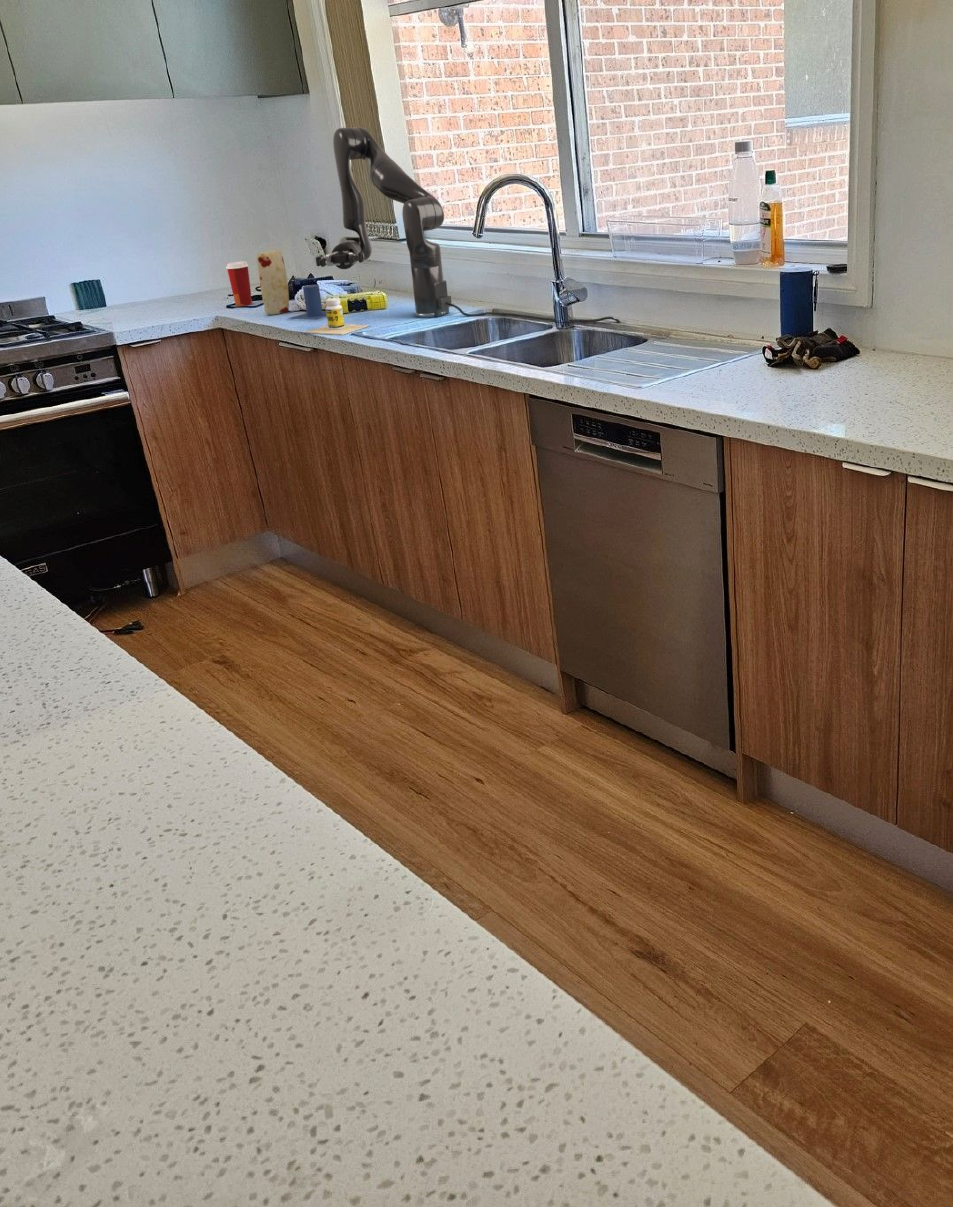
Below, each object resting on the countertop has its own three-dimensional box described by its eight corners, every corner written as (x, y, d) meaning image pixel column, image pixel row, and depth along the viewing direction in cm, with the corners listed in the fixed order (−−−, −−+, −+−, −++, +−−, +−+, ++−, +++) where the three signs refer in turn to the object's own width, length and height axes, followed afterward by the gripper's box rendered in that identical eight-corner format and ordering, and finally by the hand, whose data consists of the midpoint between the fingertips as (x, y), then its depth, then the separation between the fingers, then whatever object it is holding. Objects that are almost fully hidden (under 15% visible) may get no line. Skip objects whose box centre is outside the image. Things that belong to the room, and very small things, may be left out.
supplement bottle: (326, 330, 314) (321, 301, 311) (332, 327, 318) (328, 298, 315) (341, 330, 313) (336, 300, 309) (347, 326, 317) (343, 297, 313)
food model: (271, 317, 344) (261, 252, 336) (260, 316, 349) (249, 252, 340) (296, 311, 350) (286, 248, 342) (284, 310, 355) (274, 247, 346)
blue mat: (341, 312, 341) (341, 312, 341) (316, 320, 332) (316, 319, 332) (313, 311, 347) (313, 310, 347) (288, 319, 339) (288, 318, 338)
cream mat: (368, 326, 316) (368, 325, 316) (342, 335, 308) (341, 333, 307) (332, 324, 324) (332, 323, 324) (305, 333, 315) (305, 332, 315)
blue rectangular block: (326, 313, 340) (322, 284, 336) (315, 317, 336) (311, 287, 333) (314, 313, 343) (310, 284, 339) (303, 316, 339) (299, 287, 335)
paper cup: (258, 301, 376) (251, 260, 370) (250, 306, 369) (243, 264, 363) (237, 303, 377) (229, 262, 371) (229, 307, 371) (221, 265, 365)
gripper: (321, 244, 332) (310, 251, 317) (366, 240, 330) (357, 246, 316) (325, 269, 335) (314, 277, 320) (370, 265, 334) (361, 273, 319)
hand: (336, 262), depth 318 cm, fingers open, 8 cm apart
